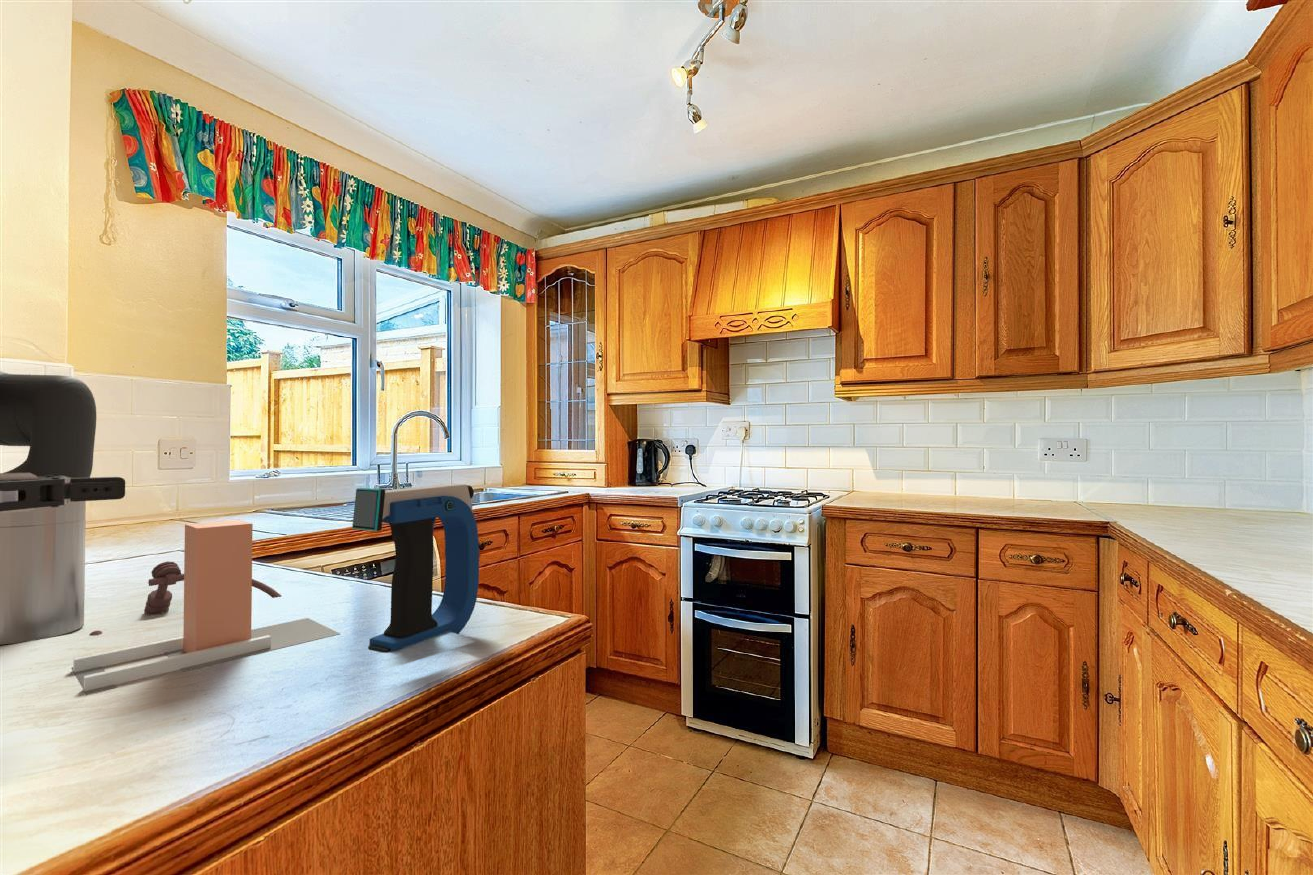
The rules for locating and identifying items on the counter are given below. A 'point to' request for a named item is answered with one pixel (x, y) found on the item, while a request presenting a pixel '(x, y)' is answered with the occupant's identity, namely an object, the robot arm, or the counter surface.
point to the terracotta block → (217, 584)
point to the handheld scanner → (424, 558)
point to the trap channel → (189, 654)
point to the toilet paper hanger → (168, 576)
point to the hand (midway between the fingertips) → (123, 487)
